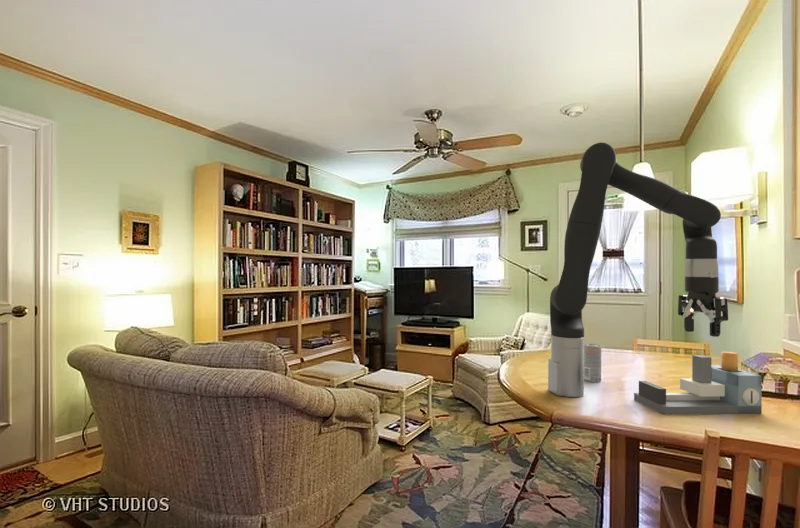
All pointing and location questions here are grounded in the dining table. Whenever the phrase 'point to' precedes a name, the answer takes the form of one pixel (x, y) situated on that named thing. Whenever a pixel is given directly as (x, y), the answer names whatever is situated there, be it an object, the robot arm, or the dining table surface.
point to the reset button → (729, 360)
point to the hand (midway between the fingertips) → (701, 333)
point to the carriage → (702, 379)
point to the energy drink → (592, 362)
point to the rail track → (690, 406)
